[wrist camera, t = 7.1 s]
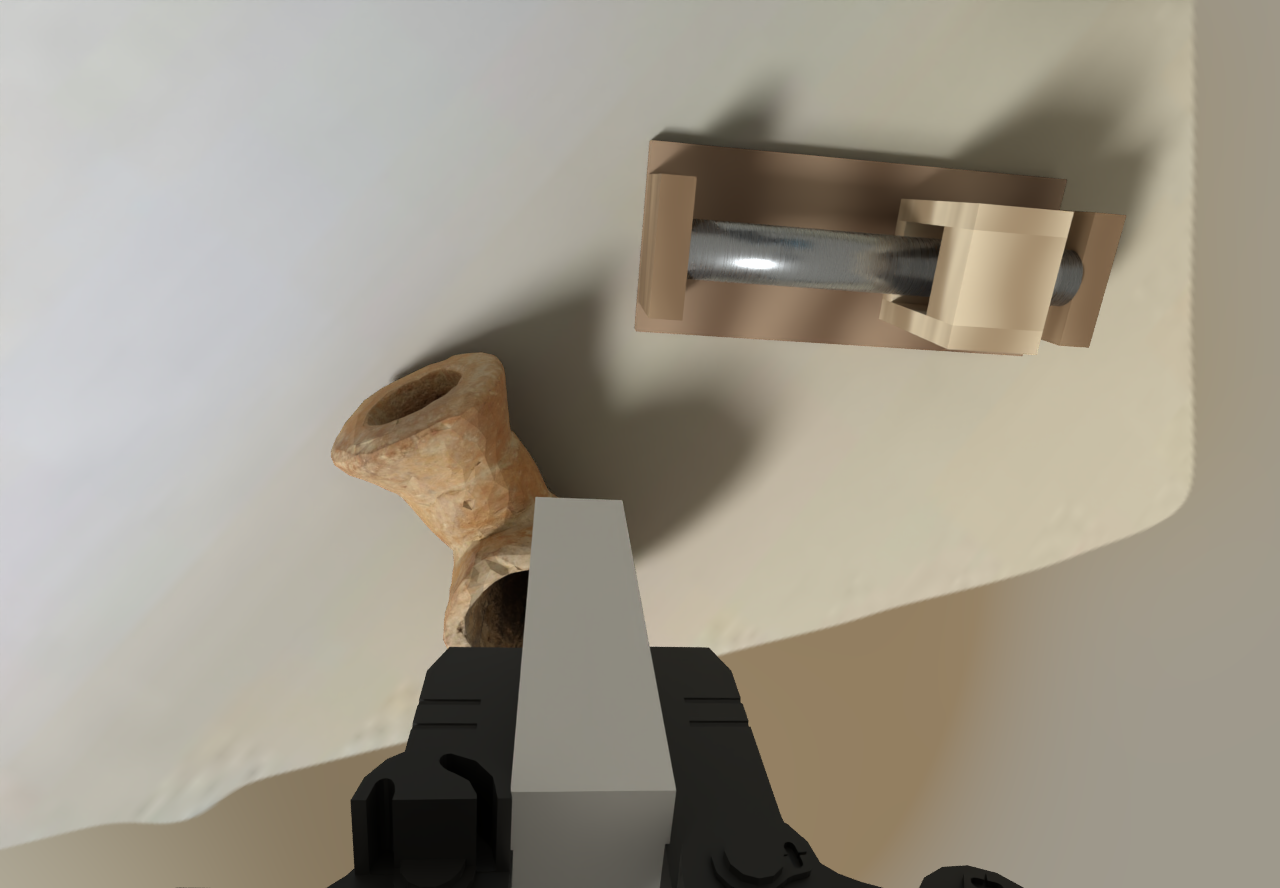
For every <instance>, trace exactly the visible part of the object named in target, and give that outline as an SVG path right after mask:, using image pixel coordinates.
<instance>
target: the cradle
mask: <svg viewBox="0 0 1280 888" xmlns="http://www.w3.org/2000/svg"><path fill="white" fill-rule="evenodd" d="M1066 183H1067V180H1066V179H1056V178H1045V177H1035V176H1024V175H1014V174H1003V173H992V172H982V171H971V170H961V169H950V168H940V167H929V166H919V165H908V164H898V163H887V162H877V161H866V160H855V159H845V158H834V157H824V156H813V155H803V154H792V153H782V152H771V151H761V150H750V149H740V148H729V147H718V146H708V145H697V144H687V143H676V142H666V141H655V140H651V141H650V143H649V155H648V167H647V180H646V192H645V205H644V217H643V229H642V242H641V254H640V267H639V279H638V291H637V304H636V316H635V330H636V331H639V332H655V333H670V334H686V335H702V336H717V337H733V338H749V339H764V340H780V341H795V342H811V343H827V344H842V345H858V346H874V347H889V348H905V349H920V350H936V351H952V352H967V353H983V354H999V355H1014V356H1023V354H1015V353H999V352H984V351H968V350H953V349H946V348H944V347H941V346H939V345H937V344H935V343H932V342H930V341H928V340H926V339H923V338H921V337H919V336H917V335H914V334H912V333H910V332H908V331H905V330H903V329H901V328H899V327H896V326H894V325H892V324H890V323H887V322H885V321H883V320H881V319H879V315H880V310H881V304H882V299H883V294H882V293H869V292H855V291H841V290H828V289H814V288H800V287H786V286H773V285H759V284H745V283H732V282H718V281H704V280H690V279H687V271H688V261H689V251H690V241H691V231H692V221H693V219H705V220H717V221H729V222H741V223H753V224H765V225H777V226H789V227H801V228H813V229H825V230H837V231H850V232H862V233H874V234H886V235H895V230H896V224H897V219H898V214H899V208H900V203H901V199H914V200H931V201H947V202H964V203H980V204H992V205H1003V206H1014V207H1025V208H1036V209H1047V210H1059V211H1064V210H1060V206H1061V202H1062V199H1063V195H1064V191H1065V187H1066ZM1070 212H1074V214H1073V217H1072V221H1071V225H1070V229H1069V233H1068V237H1067V240H1066V244H1065V248H1064V249H1067V250H1073V251H1075V252H1076V253H1078V255H1079V256H1080V258H1081V261H1082V265H1083V276H1082V281H1081V284H1080V287H1079V290H1078V291H1077V293H1076V295H1075V296H1074V298H1073V299H1072V300H1071V301H1070V302H1069V303H1067V304H1066V305H1063V306H1049V309H1048V313H1047V317H1046V321H1045V325H1044V329H1043V332H1042V336H1041V340H1044V341H1047V342H1050V343H1053V344H1056V345H1059V346H1073V347H1088V348H1089V346H1090V342H1091V339H1092V335H1093V332H1094V328H1095V324H1096V321H1097V317H1098V314H1099V310H1100V307H1101V303H1102V300H1103V296H1104V293H1105V289H1106V286H1107V282H1108V279H1109V275H1110V272H1111V268H1112V264H1113V261H1114V257H1115V254H1116V250H1117V247H1118V243H1119V240H1120V236H1121V233H1122V229H1123V226H1124V222H1125V219H1126V215H1117V214H1106V213H1095V212H1079V211H1070Z"/></svg>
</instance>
